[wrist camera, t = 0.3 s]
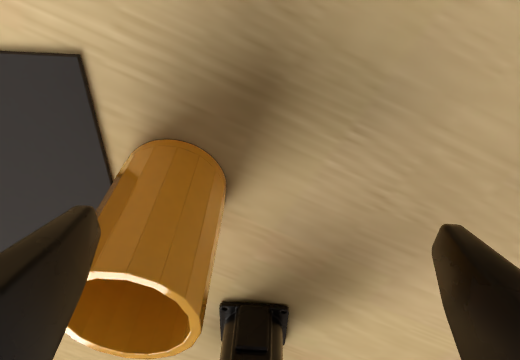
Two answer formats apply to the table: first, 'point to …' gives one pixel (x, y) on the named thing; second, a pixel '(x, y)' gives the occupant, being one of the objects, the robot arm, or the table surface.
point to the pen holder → (153, 254)
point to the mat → (46, 142)
